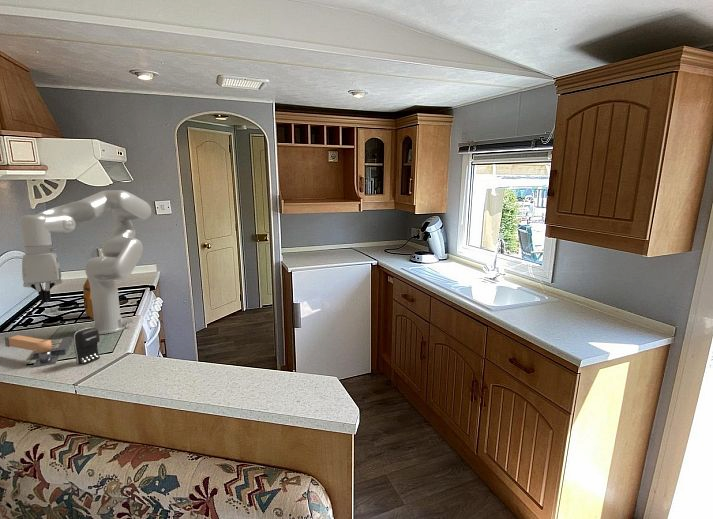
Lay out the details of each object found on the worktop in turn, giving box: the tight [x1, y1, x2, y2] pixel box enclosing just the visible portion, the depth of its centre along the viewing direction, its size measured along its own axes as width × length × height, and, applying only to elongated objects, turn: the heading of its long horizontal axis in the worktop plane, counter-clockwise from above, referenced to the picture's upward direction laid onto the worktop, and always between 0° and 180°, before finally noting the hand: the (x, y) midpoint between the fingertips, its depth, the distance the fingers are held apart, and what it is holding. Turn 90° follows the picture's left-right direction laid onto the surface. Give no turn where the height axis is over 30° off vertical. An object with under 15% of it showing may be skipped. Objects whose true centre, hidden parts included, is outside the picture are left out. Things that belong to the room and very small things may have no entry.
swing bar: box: [4, 333, 52, 353], centre depth 132 cm, size 4×20×3 cm, turn 69°
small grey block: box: [32, 350, 60, 368], centre depth 129 cm, size 6×6×4 cm
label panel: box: [32, 336, 73, 361], centre depth 141 cm, size 9×15×2 cm, turn 29°
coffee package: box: [82, 278, 94, 320], centre depth 183 cm, size 10×12×22 cm
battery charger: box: [72, 327, 101, 366], centre depth 129 cm, size 7×4×11 cm, turn 161°
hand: (45, 301), depth 136 cm, fingers closed
